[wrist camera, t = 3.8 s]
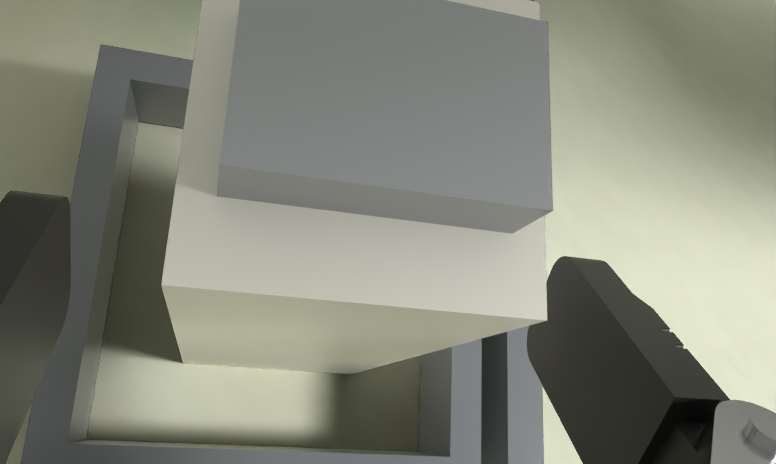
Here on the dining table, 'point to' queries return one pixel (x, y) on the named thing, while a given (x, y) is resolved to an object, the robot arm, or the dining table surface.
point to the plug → (359, 181)
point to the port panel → (187, 460)
